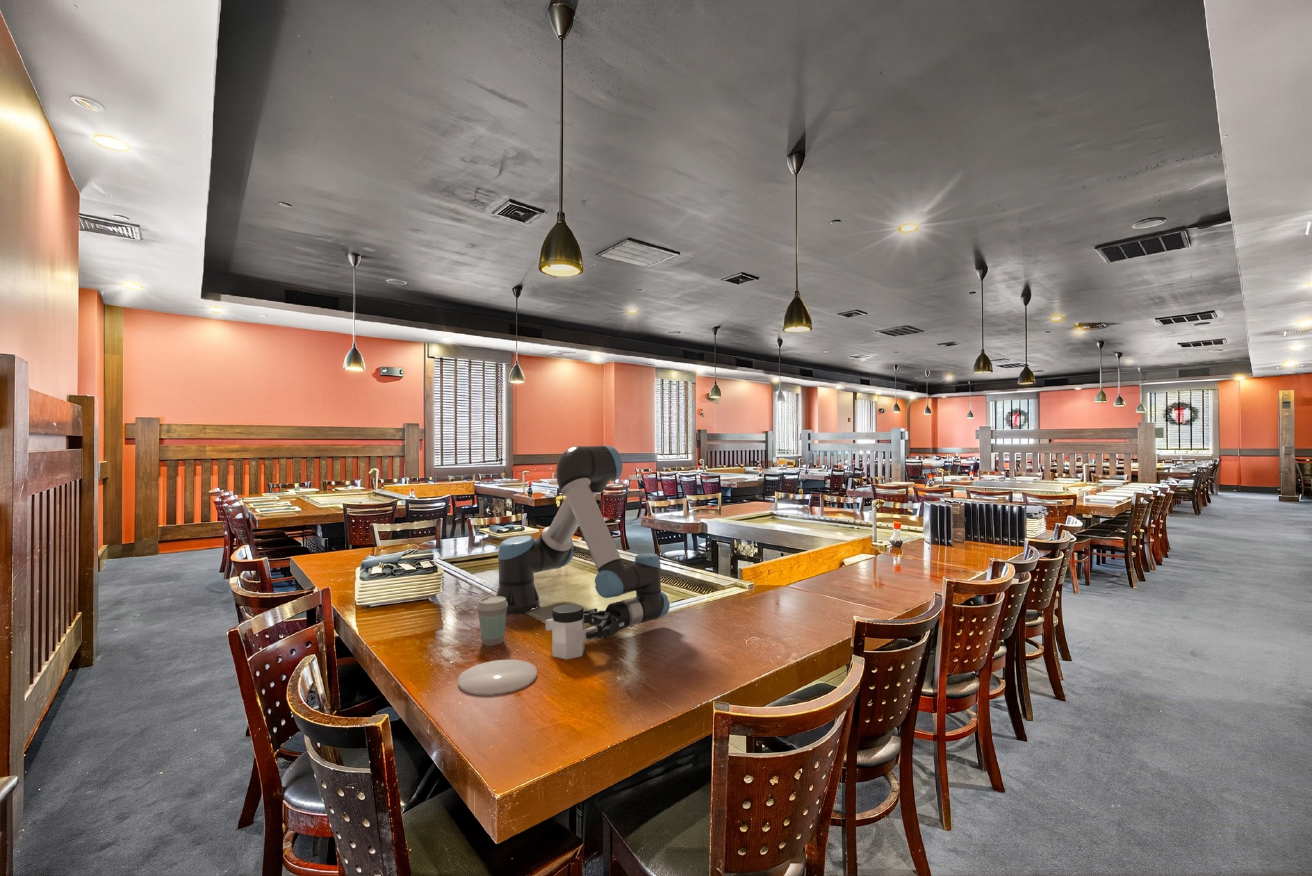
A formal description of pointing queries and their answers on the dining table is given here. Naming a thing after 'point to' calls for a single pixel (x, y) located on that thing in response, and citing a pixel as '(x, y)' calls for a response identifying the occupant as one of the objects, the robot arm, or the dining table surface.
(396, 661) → the dining table surface
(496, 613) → the coffee cup
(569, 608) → the jar
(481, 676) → the saucer
